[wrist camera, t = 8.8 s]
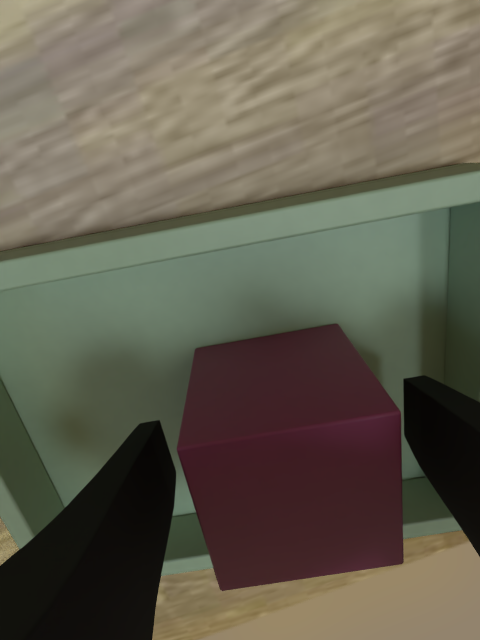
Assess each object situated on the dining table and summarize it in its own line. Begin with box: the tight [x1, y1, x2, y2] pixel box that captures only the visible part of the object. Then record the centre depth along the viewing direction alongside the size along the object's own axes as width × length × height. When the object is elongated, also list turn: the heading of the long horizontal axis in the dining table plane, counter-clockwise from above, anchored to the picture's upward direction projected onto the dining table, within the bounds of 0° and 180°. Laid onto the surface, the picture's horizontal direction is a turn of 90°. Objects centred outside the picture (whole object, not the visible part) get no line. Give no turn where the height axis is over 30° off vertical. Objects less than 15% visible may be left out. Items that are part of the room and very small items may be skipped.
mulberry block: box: [177, 324, 403, 591], centre depth 10 cm, size 4×4×4 cm
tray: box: [0, 163, 480, 576], centre depth 12 cm, size 11×15×2 cm
